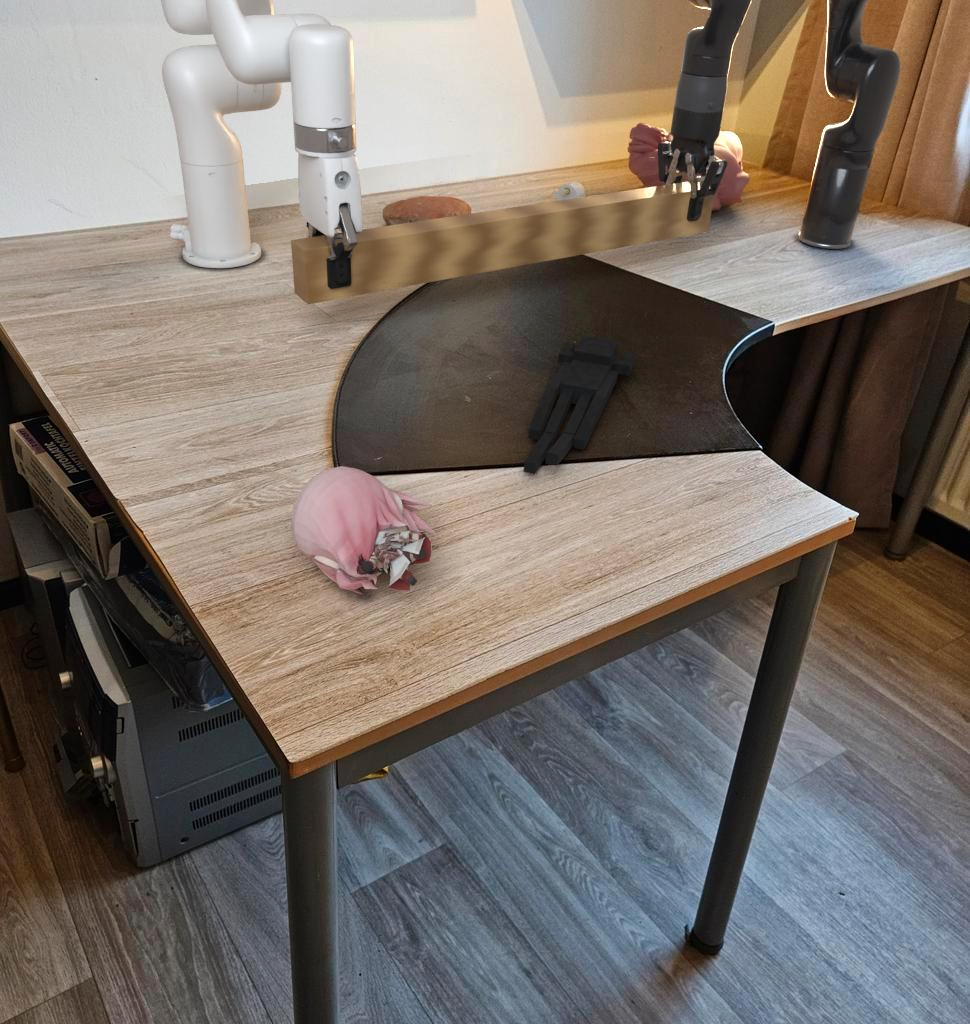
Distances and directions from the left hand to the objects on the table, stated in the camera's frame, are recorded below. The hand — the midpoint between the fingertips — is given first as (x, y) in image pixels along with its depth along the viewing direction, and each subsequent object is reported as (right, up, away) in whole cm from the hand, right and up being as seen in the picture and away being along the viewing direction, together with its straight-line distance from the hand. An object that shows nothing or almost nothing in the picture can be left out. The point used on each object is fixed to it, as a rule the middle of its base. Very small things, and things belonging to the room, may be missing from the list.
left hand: (331, 278), depth 128 cm
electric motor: (+37, +28, +60) cm, 76 cm away
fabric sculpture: (+64, +37, +76) cm, 106 cm away
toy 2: (+31, -20, -11) cm, 39 cm away
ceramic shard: (+10, +21, +48) cm, 53 cm away
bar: (+26, +7, +15) cm, 31 cm away
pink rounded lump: (+10, -37, -38) cm, 54 cm away
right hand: (+53, +17, +28) cm, 62 cm away
